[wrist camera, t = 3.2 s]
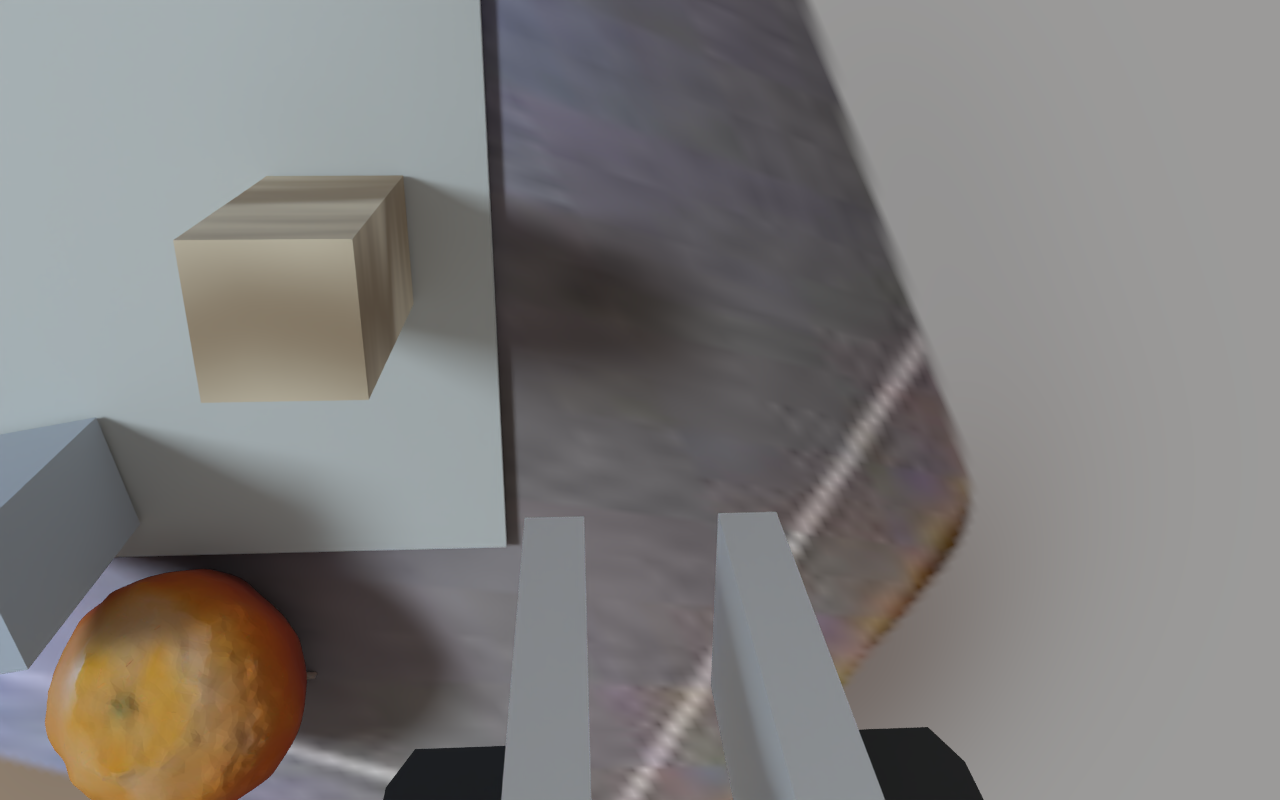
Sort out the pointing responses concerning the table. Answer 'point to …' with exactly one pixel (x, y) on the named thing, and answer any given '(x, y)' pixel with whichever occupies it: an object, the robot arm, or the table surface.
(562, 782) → the robot arm
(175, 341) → the felt mat
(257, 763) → the fruit
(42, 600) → the slate block
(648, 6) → the table surface
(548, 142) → the table surface
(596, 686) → the table surface
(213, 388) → the beech block
